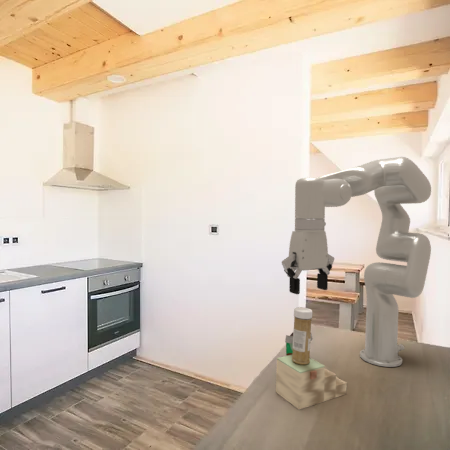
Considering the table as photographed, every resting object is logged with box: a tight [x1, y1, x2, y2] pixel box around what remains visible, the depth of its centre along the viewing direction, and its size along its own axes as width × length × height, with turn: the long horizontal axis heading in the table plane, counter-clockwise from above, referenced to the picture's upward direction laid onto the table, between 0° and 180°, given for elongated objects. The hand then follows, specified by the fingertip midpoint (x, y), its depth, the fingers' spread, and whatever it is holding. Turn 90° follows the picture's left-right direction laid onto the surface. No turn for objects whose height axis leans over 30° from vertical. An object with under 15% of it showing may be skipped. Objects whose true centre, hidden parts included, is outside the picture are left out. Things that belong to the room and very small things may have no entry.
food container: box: [284, 332, 313, 356], centre depth 106 cm, size 12×6×10 cm, turn 148°
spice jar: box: [292, 306, 313, 365], centre depth 86 cm, size 5×5×13 cm
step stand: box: [275, 354, 348, 410], centre depth 88 cm, size 16×10×9 cm, turn 119°
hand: (308, 291), depth 89 cm, fingers open, 9 cm apart
